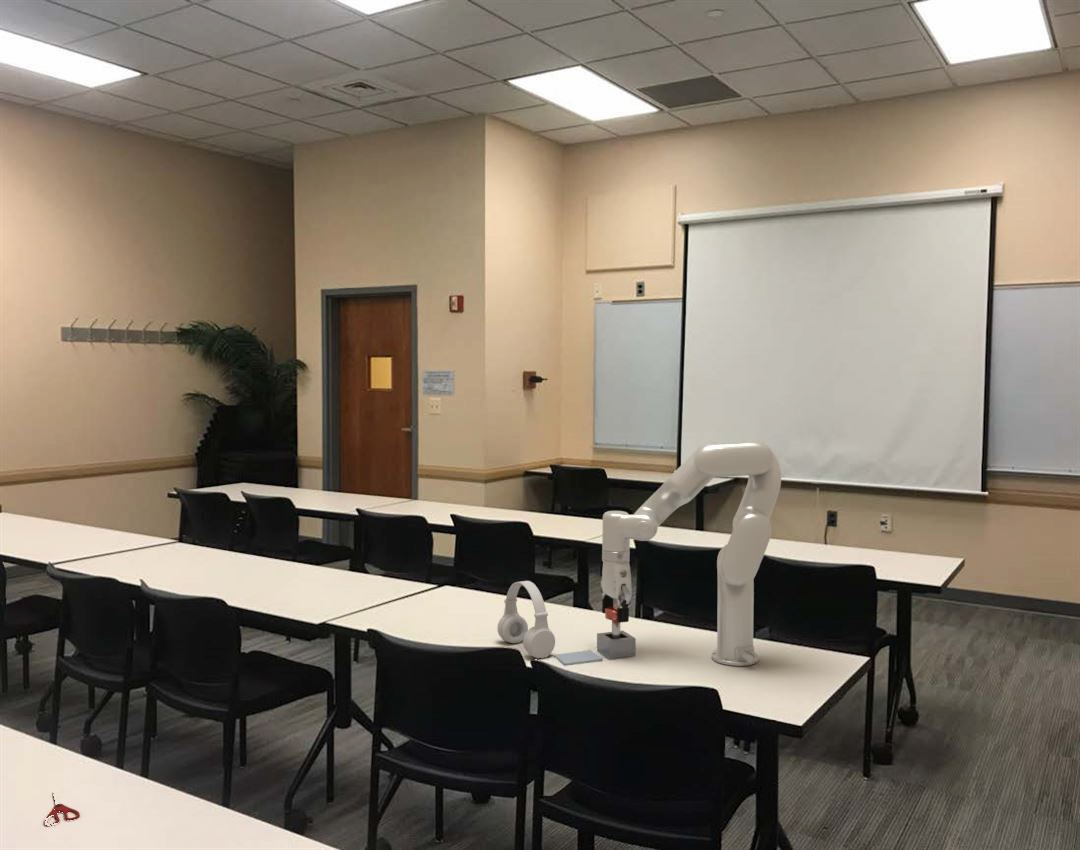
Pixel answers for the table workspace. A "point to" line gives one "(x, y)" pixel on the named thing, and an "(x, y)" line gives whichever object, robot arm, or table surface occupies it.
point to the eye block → (616, 645)
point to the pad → (578, 657)
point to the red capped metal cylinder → (613, 620)
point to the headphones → (516, 628)
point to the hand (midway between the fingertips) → (615, 617)
